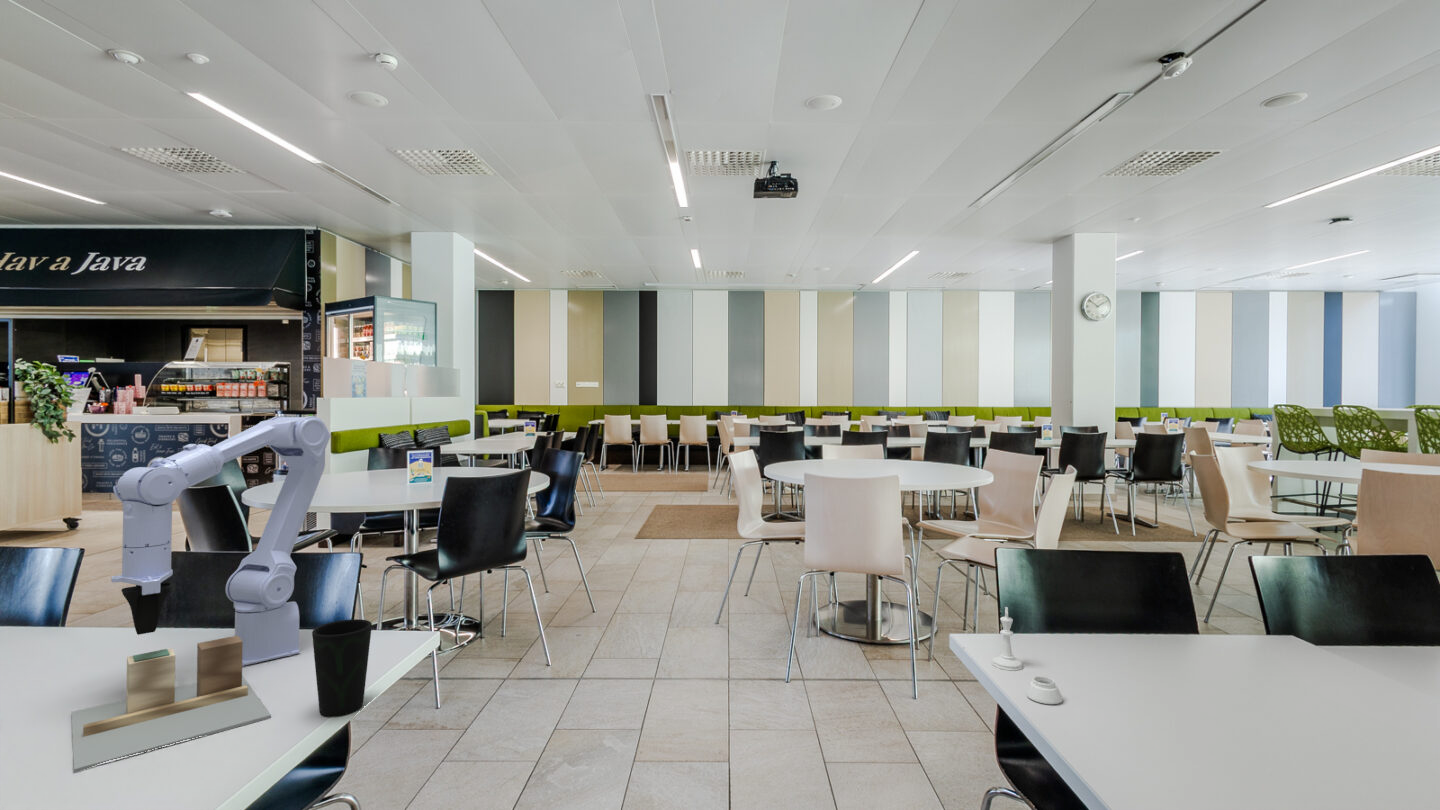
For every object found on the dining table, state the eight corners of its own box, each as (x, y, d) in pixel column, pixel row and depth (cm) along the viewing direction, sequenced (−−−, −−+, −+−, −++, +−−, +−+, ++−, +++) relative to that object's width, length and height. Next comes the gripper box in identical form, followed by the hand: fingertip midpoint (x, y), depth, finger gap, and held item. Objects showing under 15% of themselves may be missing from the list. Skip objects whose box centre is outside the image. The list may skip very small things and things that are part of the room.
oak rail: (246, 693, 100) (246, 685, 100) (247, 695, 99) (247, 687, 99) (83, 733, 87) (83, 724, 87) (83, 736, 86) (83, 727, 86)
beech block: (171, 701, 97) (172, 646, 97) (174, 710, 94) (175, 653, 94) (125, 712, 93) (127, 655, 93) (128, 721, 90) (129, 663, 91)
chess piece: (991, 668, 111) (991, 609, 111) (991, 658, 115) (991, 602, 116) (1023, 672, 109) (1022, 613, 109) (1021, 662, 113) (1021, 605, 114)
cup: (382, 701, 98) (383, 622, 98) (338, 724, 91) (339, 638, 91) (344, 694, 100) (345, 617, 101) (298, 715, 93) (299, 632, 93)
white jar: (1018, 693, 101) (1039, 707, 96) (1018, 674, 101) (1039, 687, 96) (1047, 691, 102) (1069, 705, 97) (1047, 672, 102) (1069, 685, 97)
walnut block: (236, 685, 102) (237, 635, 103) (241, 693, 100) (242, 641, 100) (196, 695, 99) (197, 643, 99) (200, 703, 96) (201, 649, 96)
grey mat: (240, 675, 108) (240, 672, 108) (270, 717, 92) (270, 714, 92) (71, 714, 93) (71, 711, 93) (73, 772, 78) (73, 769, 78)
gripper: (109, 541, 102) (107, 627, 102) (115, 555, 92) (113, 650, 92) (167, 535, 107) (166, 617, 107) (179, 548, 97) (177, 638, 97)
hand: (145, 632), depth 100 cm, fingers closed
